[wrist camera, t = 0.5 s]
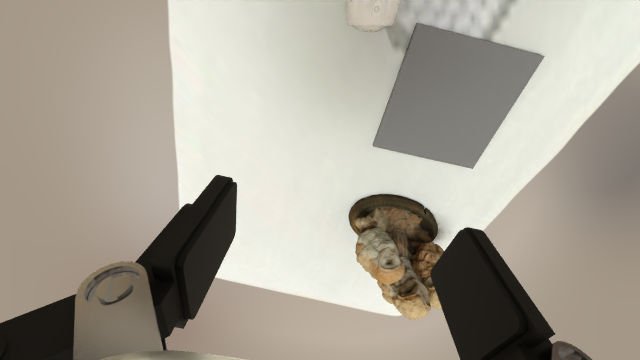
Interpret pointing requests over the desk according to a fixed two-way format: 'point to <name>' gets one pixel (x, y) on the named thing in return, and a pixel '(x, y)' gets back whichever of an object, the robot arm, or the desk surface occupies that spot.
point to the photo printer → (372, 13)
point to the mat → (452, 95)
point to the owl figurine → (398, 250)
